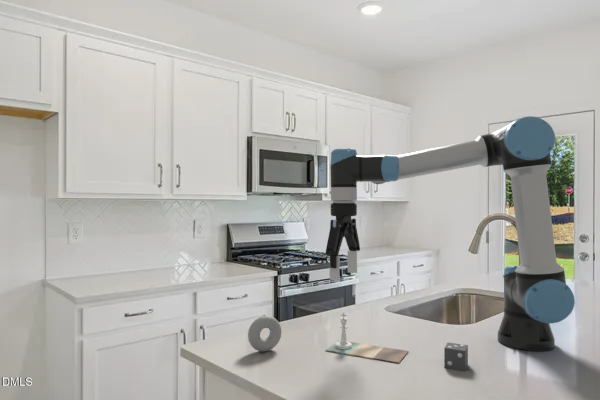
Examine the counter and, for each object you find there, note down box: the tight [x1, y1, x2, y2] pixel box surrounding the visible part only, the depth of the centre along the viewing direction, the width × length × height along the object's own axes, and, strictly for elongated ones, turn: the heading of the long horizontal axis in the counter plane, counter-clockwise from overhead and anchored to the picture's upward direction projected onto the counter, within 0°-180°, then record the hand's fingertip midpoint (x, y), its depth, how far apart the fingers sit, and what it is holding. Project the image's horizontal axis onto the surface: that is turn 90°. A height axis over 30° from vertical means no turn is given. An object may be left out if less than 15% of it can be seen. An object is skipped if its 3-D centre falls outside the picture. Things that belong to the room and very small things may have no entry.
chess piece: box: [335, 311, 352, 349], centre depth 128 cm, size 5×5×10 cm
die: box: [443, 342, 469, 372], centre depth 113 cm, size 5×5×5 cm
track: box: [325, 339, 409, 364], centre depth 125 cm, size 21×10×1 cm, turn 62°
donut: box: [247, 315, 282, 353], centre depth 125 cm, size 10×3×10 cm, turn 117°
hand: (343, 276), depth 128 cm, fingers open, 13 cm apart
